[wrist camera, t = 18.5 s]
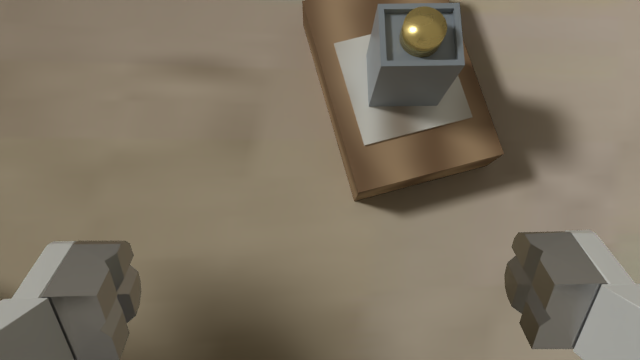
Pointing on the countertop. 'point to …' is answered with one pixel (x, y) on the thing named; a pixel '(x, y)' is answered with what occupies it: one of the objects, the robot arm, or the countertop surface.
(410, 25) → the ball
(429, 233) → the countertop surface
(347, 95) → the dock
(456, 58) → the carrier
